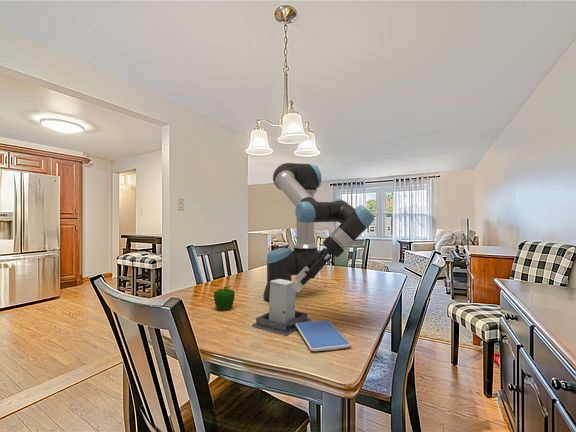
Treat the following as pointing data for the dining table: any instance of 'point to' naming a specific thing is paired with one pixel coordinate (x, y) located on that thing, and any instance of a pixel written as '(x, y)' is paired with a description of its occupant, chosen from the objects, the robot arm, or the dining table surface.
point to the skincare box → (282, 301)
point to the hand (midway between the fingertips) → (295, 284)
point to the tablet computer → (322, 335)
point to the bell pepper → (224, 298)
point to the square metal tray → (278, 327)
